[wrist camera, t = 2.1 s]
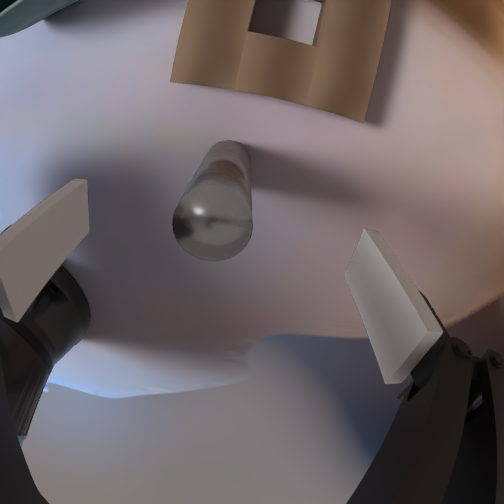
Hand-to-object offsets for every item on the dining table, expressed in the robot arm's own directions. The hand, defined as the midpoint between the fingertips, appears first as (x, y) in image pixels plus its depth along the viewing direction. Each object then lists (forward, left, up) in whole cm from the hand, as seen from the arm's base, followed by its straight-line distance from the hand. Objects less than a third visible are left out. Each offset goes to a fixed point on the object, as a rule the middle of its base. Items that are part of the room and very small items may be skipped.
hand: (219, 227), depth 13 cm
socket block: (+2, +13, -12) cm, 18 cm away
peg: (0, 0, -12) cm, 12 cm away
